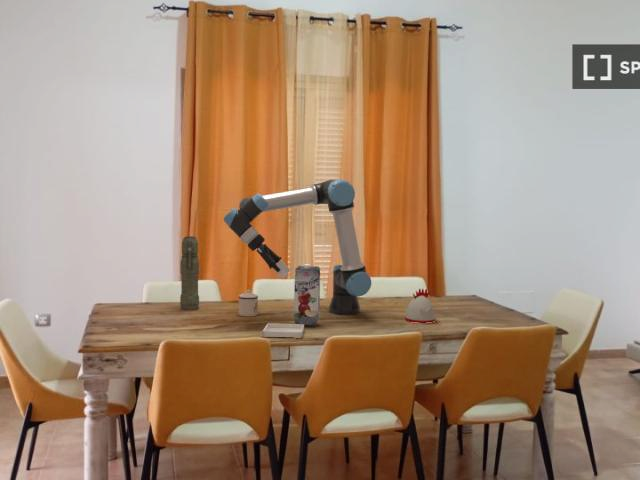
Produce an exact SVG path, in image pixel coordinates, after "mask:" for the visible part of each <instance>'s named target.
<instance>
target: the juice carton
mask: <svg viewBox="0 0 640 480" xmlns="http://www.w3.org/2000/svg"><path fill="white" fill-rule="evenodd" d="M294 271H295V273H294V296H293V297H294V302H293V304H294V305H293V313H294V314H293V319H294V324H304V326H306V328H307V327H308V328H315V327H316V326H317V324H318V323H319V319H320V311H321V310H320V308H321V307H320V306H321V299H320V298H321V268H320V266H318V265H317V266H315V265H314V266H313V265H312V266H311V264H310V263H305V264H303V265H299V266H297V267H295V270H294Z"/></svg>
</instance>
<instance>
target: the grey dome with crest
mask: <svg viewBox="0 0 640 480" xmlns="http://www.w3.org/2000/svg"><path fill="white" fill-rule="evenodd" d="M430 293H431V291H428V288H425V290H424V288H418V291H417V290H415V293H412V296H413V299H411V300H410V302H409V304H408V306H407V307H406V311H405V314H404V320H406V321H405V322H407V321H409V322H408V323H410V322H419V323H426V322H433V321H435V320H436V319H437V318H436V312H435V309H434V308H435V307H434V305H433V304H432V301H430V300H429V298H428V297H429V296H430ZM436 321H437V320H436Z"/></svg>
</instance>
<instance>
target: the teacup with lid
mask: <svg viewBox="0 0 640 480" xmlns="http://www.w3.org/2000/svg"><path fill="white" fill-rule="evenodd" d="M238 298H239V299H238V316H241V317H246V318H247V317H256V316H257V315H258V309H259V308H258V307H259V306H258V305H259V303H258V301H259V300H258V299H259V296H258V294H255V293H254V292H252V291H251V290H250V289H246V291H245V292H243V293H242V294H241V293H240V294H239V295H238Z"/></svg>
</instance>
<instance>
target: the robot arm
mask: <svg viewBox="0 0 640 480" xmlns="http://www.w3.org/2000/svg"><path fill="white" fill-rule="evenodd" d="M355 197H356V192H355V188H354V186H353V184H352V183H350V182H349V181H348V180H344V179H340V178H339V179H329V180H324V181H322V182H319V183H314V184H311V185H310V186H308V187H305V188H299V189H293V190H287V191H282V192H276V193H269V194H268V193H267V194H263V195H261V194H260V193H255V195H253V196H252V197H244V198H242V199H241V200H240V202H239V203H238V208H239V209H237V208H236V207H233V208H232V209H231V210H230V211H229V212H227V213H226V214H225V215H224V217H223V221H224V223H225V224H226V225H227V226H228V228H229V229H231V231H233V232H234V234H235V235H236V236H237V237H238V238H239V239H240V242H243V243H244V244H245V245H247V247H248V248H249V249H250V251H252V252H254V251H256V252H257V253H258V254H259V256H260V257H261V258H262V259H263V260H264V262H265V263H266V264H267V266H268V268H269V269H270V270H271V269H273V271H274V272H275V273H276V274H277V275H278V276H279V277H280V278H281V279H282V280H284V279H285V278H286V276H287V275H288V274H289V272H291V268H290V267H288V266H287V264H285V263H284V261H283V260H282V257H281V256H279V255H278V254H276V253H275V252H274V251H273V250H272V249H271V248H270V247H269V246H267V244H266V243H264V242H265V241H266V239H265V237H264V236H263V235H262V234H260V233H259V231H258V230H257V229H256V228H255V226H253V225H252V224H251V223H252V222H253V221H254V220H255V219H256V218H257V217H258V216H259V215H261V214H262V213H265V212H271V211H276V210H282V209H287V208H293V207H298V206H299V207H300V206H305V205H310V204H311V205H312V204H313V205H314V206H317V205H327V206H328V211H329V213H330V214H332V216H333V220H334V221H333V222H334V226H335V231H336V237H337V242H338V246H339V252H340V258H341V262H342V263H341V264H335V265H334V266H333V271H332V274H333V276H332V277H333V279H332V280H333V281H332V286H333V287H332V297H331V300H330V303H329V306H328V311H329V313H331V314H334V315H335V314H336V315H356V314H360V313H361V305H360V302H359V299H358V297H362V296H364V295H366V294H367V293H368V292H369V291H370V289H371V287H372V279H371V276H370V275H369V274H368V273H367V268H366V264H365V263H364V262H362V260H361V254H360V249H359V244H358V238H357V232H356V229H355V228H356V227H355V223H354V217H353V212H352V211H353V209H354V208H355V204H354V200H355Z"/></svg>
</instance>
